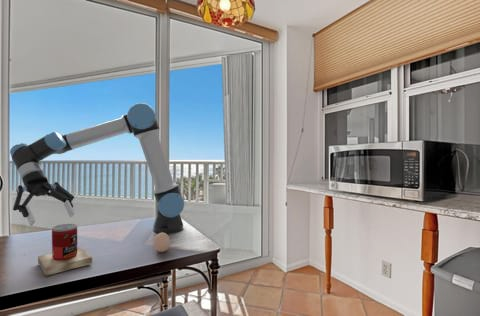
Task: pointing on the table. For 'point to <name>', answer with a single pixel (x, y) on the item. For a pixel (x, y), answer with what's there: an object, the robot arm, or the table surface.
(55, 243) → the canned food
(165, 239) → the egg
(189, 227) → the table surface
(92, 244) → the table surface
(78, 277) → the table surface
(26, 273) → the table surface
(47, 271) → the maple stand
